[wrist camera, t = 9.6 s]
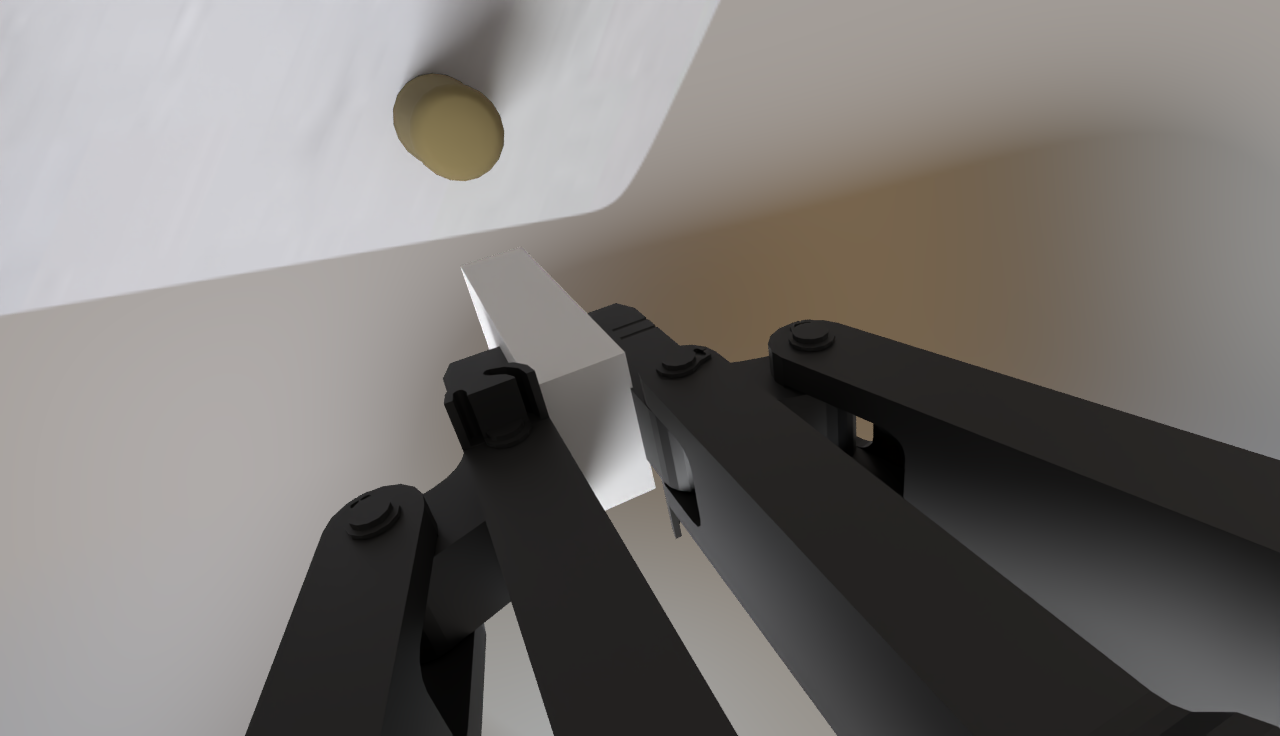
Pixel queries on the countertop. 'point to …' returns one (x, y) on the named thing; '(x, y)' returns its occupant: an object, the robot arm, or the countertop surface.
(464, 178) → the cork
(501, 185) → the countertop surface
